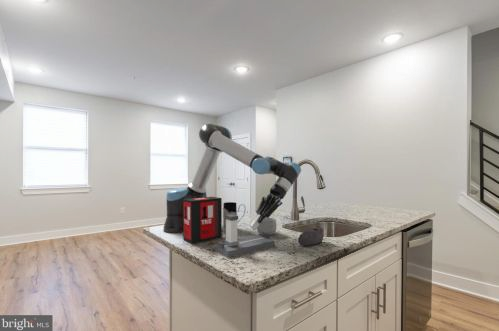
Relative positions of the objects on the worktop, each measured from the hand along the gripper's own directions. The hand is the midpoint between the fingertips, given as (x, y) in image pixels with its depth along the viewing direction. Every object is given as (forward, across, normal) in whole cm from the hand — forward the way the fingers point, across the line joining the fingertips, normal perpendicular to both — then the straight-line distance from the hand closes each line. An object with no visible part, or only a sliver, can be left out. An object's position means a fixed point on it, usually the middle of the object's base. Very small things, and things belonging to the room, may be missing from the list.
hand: (252, 227), depth 110 cm
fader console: (+9, 0, -3) cm, 9 cm away
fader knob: (+12, 0, +4) cm, 12 cm away
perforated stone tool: (-10, -14, -22) cm, 28 cm away
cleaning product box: (+16, +24, +4) cm, 29 cm away
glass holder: (-1, +32, -13) cm, 35 cm away
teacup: (-7, +13, -19) cm, 24 cm away
